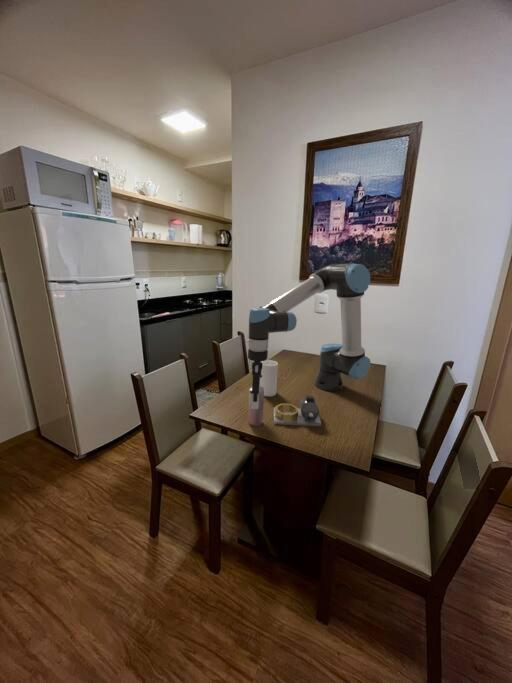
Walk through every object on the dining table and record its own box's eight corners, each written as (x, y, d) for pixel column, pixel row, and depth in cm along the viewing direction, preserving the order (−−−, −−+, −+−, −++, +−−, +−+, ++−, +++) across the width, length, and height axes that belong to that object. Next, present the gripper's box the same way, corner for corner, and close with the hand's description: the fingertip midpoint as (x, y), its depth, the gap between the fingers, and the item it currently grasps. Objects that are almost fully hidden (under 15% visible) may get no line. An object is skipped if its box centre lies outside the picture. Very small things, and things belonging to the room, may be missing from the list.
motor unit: (316, 412, 122) (318, 391, 119) (321, 427, 111) (323, 404, 108) (273, 410, 123) (274, 389, 120) (274, 425, 111) (275, 402, 109)
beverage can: (247, 418, 116) (248, 385, 112) (262, 418, 116) (263, 385, 112) (248, 426, 110) (249, 391, 106) (263, 426, 110) (265, 391, 106)
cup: (278, 391, 142) (280, 361, 138) (272, 397, 135) (274, 366, 130) (263, 388, 145) (265, 359, 141) (257, 394, 138) (258, 364, 134)
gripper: (250, 340, 117) (248, 386, 122) (245, 358, 93) (243, 415, 98) (268, 341, 117) (265, 387, 122) (267, 359, 93) (264, 416, 98)
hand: (255, 400), depth 110 cm, fingers open, 13 cm apart
